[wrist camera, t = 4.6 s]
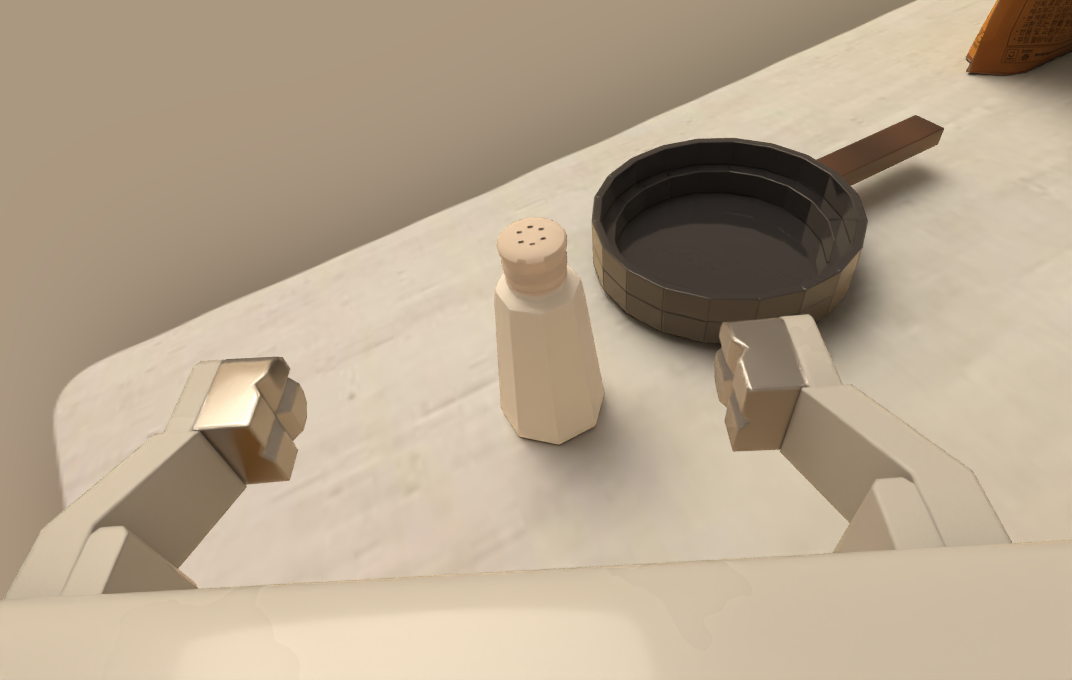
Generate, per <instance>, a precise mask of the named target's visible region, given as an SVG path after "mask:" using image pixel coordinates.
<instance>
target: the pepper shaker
mask: <svg viewBox="0 0 1072 680" xmlns="http://www.w3.org/2000/svg"><path fill="white" fill-rule="evenodd" d="M566 247H567V234H566V232H565V230H564V229H563V228H562V227H561V226H560V225H559V224H557V223H556V222H554V221H552V220H549V219H546V218H538V217H535V218H526V219H521V220H518V221H516V222H514V223H512V224H510V225H509V226H507V227H506V228H505V229H504V230H503V231H502V232H501V234H500V235H499V237H498V239H497V249H498V252H499V255H500V257H501V263H502V267H503V274H502V276H501V278H500V280H499V282H498V284H497V286H496V288H495V303H494V304H495V320H496V336H497V353H498V369H499V386H500V402H501V409H502V410H503V412H504V414H505V415H506V417H507V418H508V420H509V421H510V423H511V425H512V426H513V428H514V429H515V431H516V433H517V434H518V436H519V437H524V438H529V439H534V440H539V441H544V442H549V443H554V444H558V445H560V444H561V443H563V442H565V441H567V440H569V439H571V438H573V437H575V436H577V435H579V434H581V433H583V432H585V431H586V430H588V429H590V428H592V427H594V426H596V422H597V418H598V415H599V411H600V408H601V404H602V401H603V397H604V394H605V393H604V388H603V383H602V378H601V373H600V368H599V363H598V358H597V353H596V348H595V343H594V338H593V333H592V328H591V323H590V318H589V313H588V309H587V304H586V299H585V294H584V289H583V286H582V282H581V278H580V277H579V276H578V275H577V274H576V273H575V272H574V271H573V269H572V268H571V267H570V266H569V265H568V264H567V252H566Z"/></svg>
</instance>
